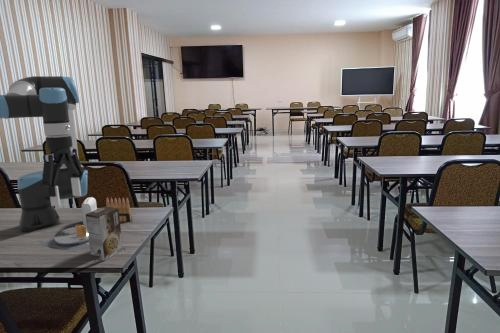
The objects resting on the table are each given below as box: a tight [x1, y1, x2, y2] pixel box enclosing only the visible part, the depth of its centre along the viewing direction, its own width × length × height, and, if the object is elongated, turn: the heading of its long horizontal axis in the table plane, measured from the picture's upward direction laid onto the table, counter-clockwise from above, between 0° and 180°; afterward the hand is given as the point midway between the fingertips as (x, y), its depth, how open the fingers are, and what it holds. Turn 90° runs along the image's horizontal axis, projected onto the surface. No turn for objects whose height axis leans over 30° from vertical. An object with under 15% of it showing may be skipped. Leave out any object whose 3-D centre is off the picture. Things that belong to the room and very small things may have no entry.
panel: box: [38, 237, 90, 252], centre depth 131 cm, size 18×17×2 cm
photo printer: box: [81, 196, 98, 226], centre depth 146 cm, size 10×4×12 cm, turn 11°
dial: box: [53, 223, 89, 246], centre depth 130 cm, size 14×14×6 cm
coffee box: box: [86, 205, 124, 262], centre depth 119 cm, size 9×6×16 cm
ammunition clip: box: [106, 197, 133, 224], centre depth 148 cm, size 11×2×12 cm, turn 85°
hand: (67, 200), depth 117 cm, fingers open, 11 cm apart
